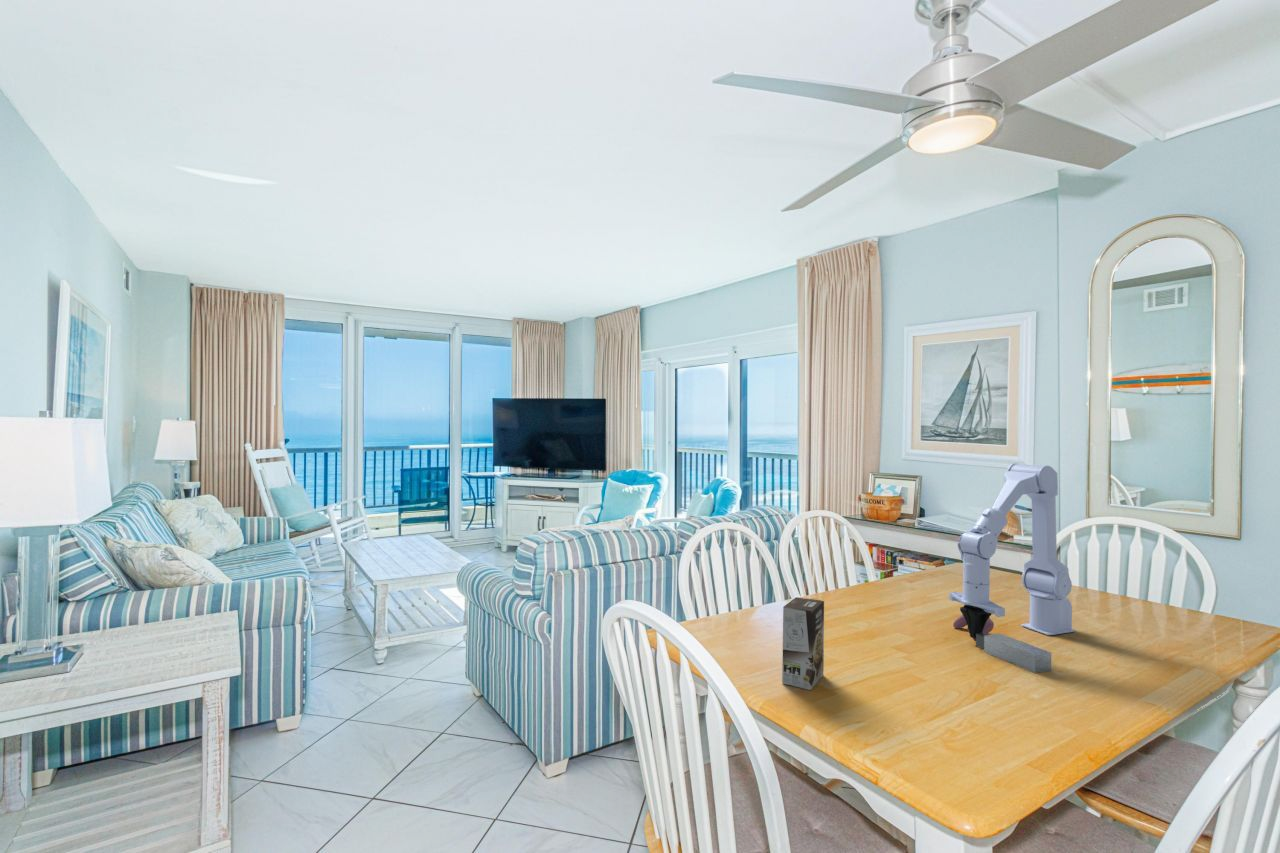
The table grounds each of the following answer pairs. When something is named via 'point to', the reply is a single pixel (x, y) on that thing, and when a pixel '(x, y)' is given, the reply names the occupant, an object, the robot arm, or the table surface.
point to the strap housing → (1017, 652)
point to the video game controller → (961, 623)
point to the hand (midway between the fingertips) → (975, 637)
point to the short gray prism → (980, 640)
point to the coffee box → (803, 643)
